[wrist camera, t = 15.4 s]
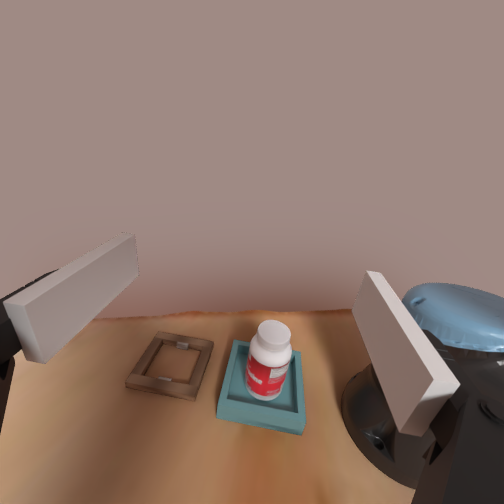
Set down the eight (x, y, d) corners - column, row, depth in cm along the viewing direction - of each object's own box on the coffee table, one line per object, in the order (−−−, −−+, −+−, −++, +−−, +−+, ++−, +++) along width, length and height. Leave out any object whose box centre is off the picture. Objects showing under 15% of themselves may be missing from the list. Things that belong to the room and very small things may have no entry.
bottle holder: (213, 346, 45) (213, 341, 45) (194, 401, 36) (194, 396, 35) (158, 336, 46) (158, 331, 46) (125, 387, 36) (125, 381, 36)
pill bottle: (238, 371, 40) (246, 319, 36) (271, 363, 42) (283, 313, 38) (252, 408, 35) (263, 352, 30) (289, 396, 37) (304, 343, 33)
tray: (296, 363, 44) (300, 351, 43) (301, 435, 34) (306, 422, 32) (232, 351, 45) (234, 339, 44) (216, 418, 34) (217, 404, 33)
